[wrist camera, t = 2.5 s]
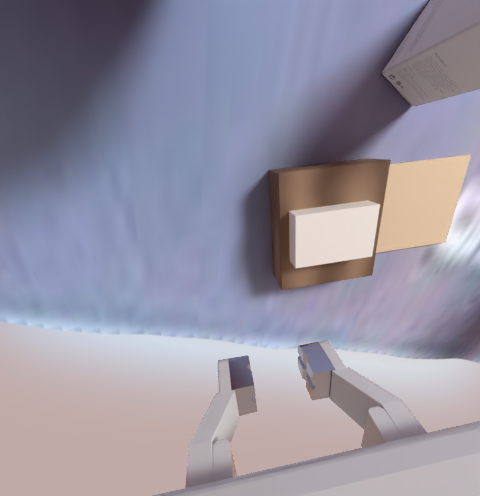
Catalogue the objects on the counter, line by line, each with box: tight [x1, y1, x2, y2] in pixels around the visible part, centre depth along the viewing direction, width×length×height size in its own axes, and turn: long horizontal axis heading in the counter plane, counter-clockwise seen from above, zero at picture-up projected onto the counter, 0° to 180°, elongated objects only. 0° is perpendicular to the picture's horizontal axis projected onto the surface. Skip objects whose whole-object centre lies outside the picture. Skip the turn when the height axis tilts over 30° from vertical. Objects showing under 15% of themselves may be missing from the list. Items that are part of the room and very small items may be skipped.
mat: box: [376, 155, 471, 253], centre depth 31 cm, size 14×12×1 cm
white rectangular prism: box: [289, 200, 380, 268], centre depth 25 cm, size 9×6×2 cm, turn 96°
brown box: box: [269, 159, 391, 290], centre depth 28 cm, size 12×14×4 cm
